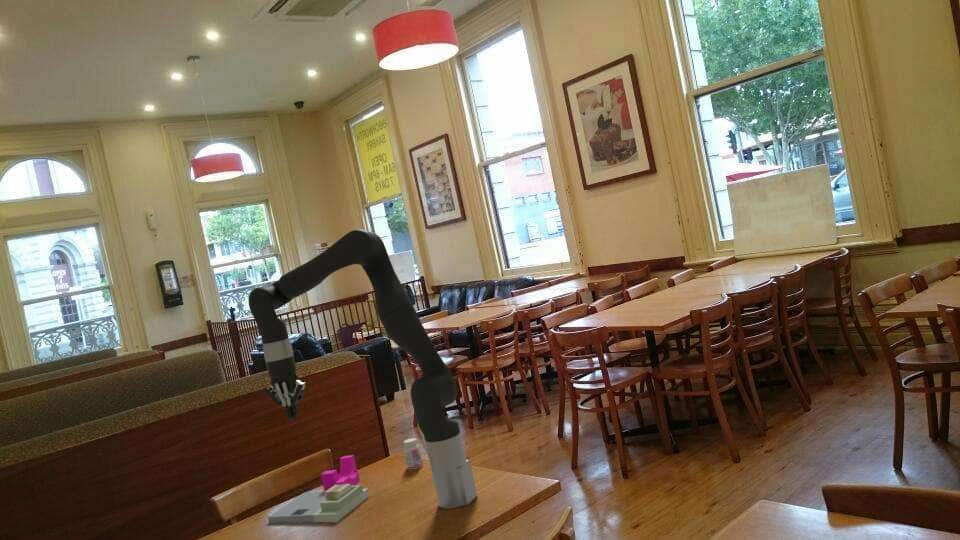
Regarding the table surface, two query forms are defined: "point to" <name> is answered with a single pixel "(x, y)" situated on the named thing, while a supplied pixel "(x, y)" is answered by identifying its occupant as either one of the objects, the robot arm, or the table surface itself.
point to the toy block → (341, 474)
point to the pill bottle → (412, 454)
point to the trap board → (319, 507)
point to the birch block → (337, 492)
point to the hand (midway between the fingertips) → (292, 418)
